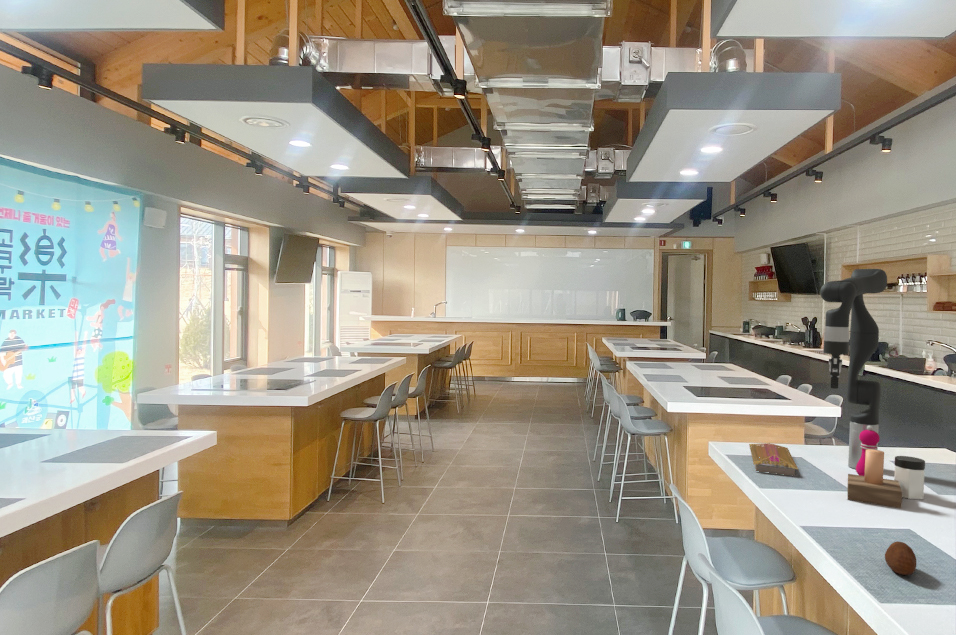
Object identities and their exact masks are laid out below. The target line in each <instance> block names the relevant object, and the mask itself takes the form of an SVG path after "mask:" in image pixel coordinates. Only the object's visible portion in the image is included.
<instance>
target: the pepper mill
mask: <svg viewBox="0 0 956 635" xmlns="http://www.w3.org/2000/svg"><path fill="white" fill-rule="evenodd" d="M872 429H873V427H872V426H867V430H863V431H862V432H861V433H860V435H859V439H860V441H861V442H862V443H861V446H860V447H861V448H862V455H861V458H860V460H859V461H858V463H857V465H856V469H855V472H856V474H857V475H860V476H865V454H866V450H867V449H873V450H877V449H878V448H879V447H878V448H877V445H876V444H877V443H878V444H879V442H880V441H881V440H880V439H881V438H880V435H879V432H878V433H877V432H875V431H872ZM878 450H879V449H878Z"/></svg>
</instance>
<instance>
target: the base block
mask: <svg viewBox="0 0 956 635" xmlns="http://www.w3.org/2000/svg"><path fill="white" fill-rule="evenodd" d="M846 487H847V490H846V491H847V501H855V502H861V503H866V504H867V503H868V504H873V505H880V506H886V507H891V508H892V507H893V508H899V509H902V501H903V497H902V490H901V487H900V484H899V481H896V480H894V479H887V478H883V484H882V485H876V484H870V483H867V482H865V481H864V476H860V475H859V474H852V473H847V486H846Z"/></svg>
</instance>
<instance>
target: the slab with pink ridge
mask: <svg viewBox="0 0 956 635" xmlns="http://www.w3.org/2000/svg"><path fill="white" fill-rule="evenodd" d="M748 445H749V449H750V454H751V458H752V462H753V465H755V466H754V469H756V470H755V472H756V471H759V472H769V473H777V474H784V475H783V476H786V475H793V476H792V477H795V474H796V470H799V468H798V466H797V464H796V462H795V460H794V457H793V456H792V454H791V453H790V449H789V448H788V447H787V446H786V447H785V446H782V445H778V444H774V443H770V442H768V443H749V444H748ZM759 457H760V458H759ZM759 472H758V473H759ZM777 474H776V475H777Z"/></svg>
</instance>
